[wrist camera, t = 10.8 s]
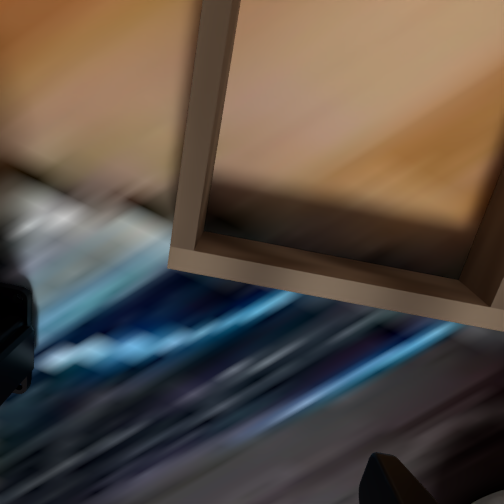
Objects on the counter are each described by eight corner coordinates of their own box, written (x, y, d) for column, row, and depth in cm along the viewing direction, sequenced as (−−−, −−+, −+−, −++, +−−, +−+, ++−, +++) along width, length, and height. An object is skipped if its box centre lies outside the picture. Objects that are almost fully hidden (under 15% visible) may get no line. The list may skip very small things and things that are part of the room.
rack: (180, 245, 20) (167, 268, 17) (224, -63, 16) (216, -102, 13) (572, 320, 21) (621, 353, 18) (714, 46, 16) (808, 32, 14)
